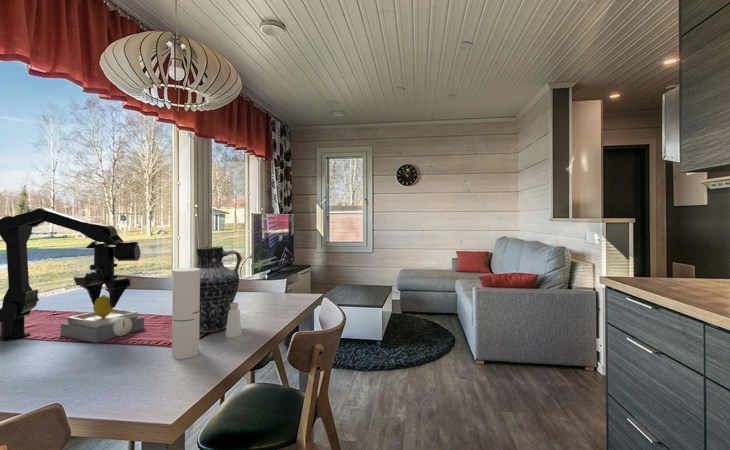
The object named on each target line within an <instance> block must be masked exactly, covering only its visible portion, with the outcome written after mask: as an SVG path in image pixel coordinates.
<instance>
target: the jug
mask: <svg viewBox="0 0 730 450" xmlns="http://www.w3.org/2000/svg"><path fill="white" fill-rule="evenodd" d="M195 249H196V253H197V254H196V255H197V257H198V259H197V260H198V261H197V263H196V264H197V265H196V266H195V267H194V268H199V269H200V310H199V311H200V318H199V333H214V332H218V331H221V330H224V329H225V328H227V320H228V312H229V310H230V303H234V300H235V299H236V295H237V293H238V290H239V289H238V288H239V285H240V274H239V268H240V265H241V262H242V260H243V259H242V256H241V253H240V252H238V251H236V250H235V249H232V250H226V251H225V249H224V246H222V245H221V246H204V247H203V246H196V247H195ZM232 254H233V255H235V256H236V264H235V266H234V268H233V269H229V268H228V267H226V266H225V265H224V263H223V259H224V258H225V257H228V256H230V255H232Z"/></svg>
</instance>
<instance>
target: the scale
mask: <svg viewBox="0 0 730 450" xmlns="http://www.w3.org/2000/svg"><path fill="white" fill-rule="evenodd" d="M143 329H145V317H144V316H138V317H137V318H133V319H129V318H126V317H123V318H120V319H118V320H117V321H116V322H115V323H114V324H111V325H107V326H103V327H100V328H90V327H85V326H79V325H74V324H69V323H68V321H66V322H61V323H60V336H61V337H66V338H70V339H76V340H81V341H85V342H91V343H96V344H97V343H102V342H104V341H107V339H108V340H110V338H111V339H114V338H116V337H117V336H118V337H123V335H124V336H125V335H127V333H128V334H131V333H134V332H137V331H141V330H143ZM118 337H117V338H118Z"/></svg>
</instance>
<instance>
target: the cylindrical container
mask: <svg viewBox="0 0 730 450" xmlns="http://www.w3.org/2000/svg"><path fill="white" fill-rule="evenodd" d="M171 299H172V300H171V301H172V305H171V307H172V309H171V311H172V313H171V319H172V320H171V321H172V322H171V357H172V358H173V359H175V360H184V359H190V358H193V357H196V356H198V355H199V353H200V332H199V318H200V311H199V310H200V269H199V268H195V267H181V268H175V269H172V298H171Z"/></svg>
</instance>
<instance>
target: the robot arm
mask: <svg viewBox="0 0 730 450" xmlns="http://www.w3.org/2000/svg"><path fill="white" fill-rule="evenodd" d="M45 222H46V223H49V224H53V225H54V226H55V225H56V226H59V227H62V228H66V229H69V230H72V231H75V232H78V233H80V234H83V235H84V236H85V237H86V238H89V239H90V240H93V241H91V242H90V243H89V244H88V245H86V249H93V264H90V266H89V269H88V270H85V271H81V273H78V274H76V275H74V276H73V277H72V278H73V279H74V282H75V285H76V286H78V287H79V286H80V288H83V289H85V290H86V291H87V294H88V296H89V298H90V301H91V303H92V305H93V306H94V303H95V301H96V299H98V298H99V297H101V293H102V289H103V286H104V285H105V291H106V292H107V293H108V295H109V297H110V305H111V308H115V307H116V306H117V305H118V303H119V301H120V299H121V297H122V295H123V293H124V292H125V291H126V289H128V288H129V287H130V286H131V285H132V284H131V282H132V281H131V279H129V277H118V274H117V275H116V274H115V268H117V267H118V263H115V260H117V261H119V262H138V261H140V258H141V249H140V246H139V242H138V241H130V242H128V241H126V242H125V241H124V240H123V239H122V238H121V237H120V235H119V234H118V231H117V228H116V227H115V226H114V225H112V224H111V225H110V224H104V223H97V222H91V221H85V220H83V219H80V218H77V217H74V216H70V215H67V214H64V213H60V212H57V211H55V210H53V209H50V208H46V207H45V208H44V207H38V208H36V209H34V210H31V211H27V212H24V213H20V214H16V215H7V216H3V217H2V218H1V219H0V238H1V239H2V240H3V242H4V243H5V245H6V247H5V248H6V265H7V266H6V267H7V268H6V269H7V282H8V283H7V284H8V287H7V290H6V292H5V294H4V296H3V298H2V304H1V305H2V306H1V308H0V341H4V342H6V341H7V342H8V341H11V340H15V339H20V338H23V337H28V336H31V333H30V332H25V330H26V329H25V328H26V327H25V326H26V325H25V324H26V323H25V322H26V316H29V315H30V314H31V312H32V310H34V308H35V307H37V304H38V302H39V301H40V299H39V297H38V295H39V289H37V288H36V289H33V288H32V287H31V285H30V280H29V278H30V276H29V261H28V260H29V259H28V241H29V239H30V237H31V236H32V232H33V228H34V227H38V226H39V225H41V224H42V223H45Z"/></svg>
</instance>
